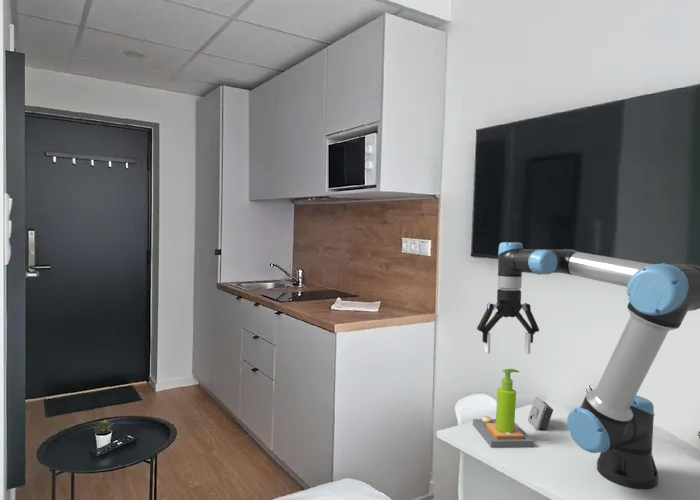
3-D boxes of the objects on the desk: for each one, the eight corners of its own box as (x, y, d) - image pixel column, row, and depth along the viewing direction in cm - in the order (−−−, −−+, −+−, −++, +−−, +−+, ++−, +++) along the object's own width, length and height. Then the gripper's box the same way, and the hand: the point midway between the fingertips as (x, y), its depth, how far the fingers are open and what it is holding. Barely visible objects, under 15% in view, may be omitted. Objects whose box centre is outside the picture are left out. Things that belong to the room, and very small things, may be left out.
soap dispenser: (520, 431, 157) (523, 371, 157) (503, 433, 155) (506, 373, 154) (508, 424, 163) (511, 366, 162) (491, 426, 160) (495, 367, 160)
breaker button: (523, 444, 154) (523, 434, 154) (496, 444, 154) (496, 435, 154) (510, 431, 164) (511, 422, 164) (485, 431, 164) (485, 422, 164)
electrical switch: (527, 420, 175) (530, 395, 174) (541, 422, 175) (544, 397, 174) (536, 431, 165) (539, 405, 165) (551, 433, 165) (554, 407, 165)
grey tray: (533, 447, 153) (534, 436, 152) (491, 447, 152) (491, 436, 151) (510, 424, 171) (511, 414, 170) (472, 424, 170) (473, 414, 169)
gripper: (540, 288, 162) (538, 349, 162) (468, 287, 160) (467, 349, 161) (551, 290, 154) (549, 355, 155) (476, 289, 152) (474, 355, 153)
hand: (507, 352), depth 158 cm, fingers open, 13 cm apart
